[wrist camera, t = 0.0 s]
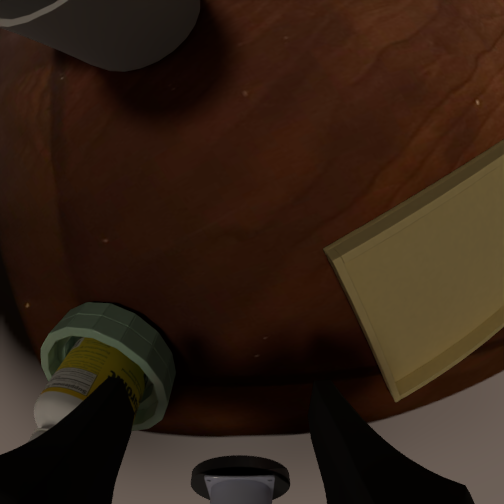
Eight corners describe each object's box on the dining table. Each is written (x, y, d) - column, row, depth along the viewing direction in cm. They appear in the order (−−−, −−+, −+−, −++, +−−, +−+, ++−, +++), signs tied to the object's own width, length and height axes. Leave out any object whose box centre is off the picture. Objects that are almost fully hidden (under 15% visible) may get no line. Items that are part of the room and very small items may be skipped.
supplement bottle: (158, 390, 19) (125, 509, 10) (91, 381, 19) (41, 483, 10) (143, 327, 17) (85, 457, 8) (70, 321, 17) (-7, 423, 8)
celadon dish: (184, 401, 20) (177, 437, 17) (83, 389, 20) (67, 419, 17) (166, 300, 17) (151, 333, 14) (50, 295, 17) (23, 321, 14)
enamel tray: (386, 385, 20) (395, 402, 19) (322, 248, 17) (331, 261, 15) (533, 275, 18) (547, 284, 16) (512, 133, 14) (531, 134, 12)
